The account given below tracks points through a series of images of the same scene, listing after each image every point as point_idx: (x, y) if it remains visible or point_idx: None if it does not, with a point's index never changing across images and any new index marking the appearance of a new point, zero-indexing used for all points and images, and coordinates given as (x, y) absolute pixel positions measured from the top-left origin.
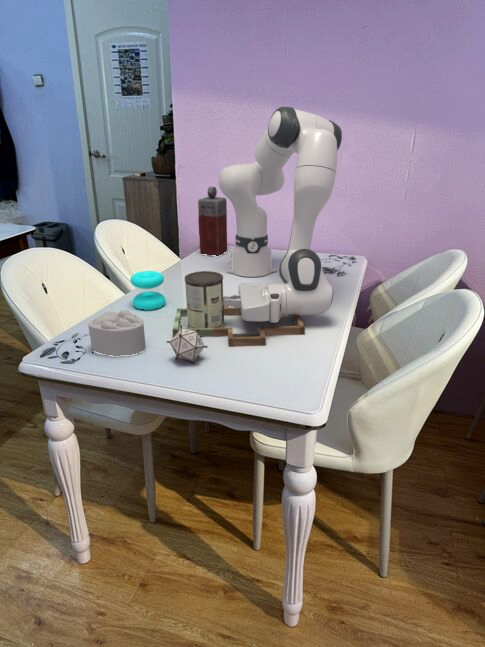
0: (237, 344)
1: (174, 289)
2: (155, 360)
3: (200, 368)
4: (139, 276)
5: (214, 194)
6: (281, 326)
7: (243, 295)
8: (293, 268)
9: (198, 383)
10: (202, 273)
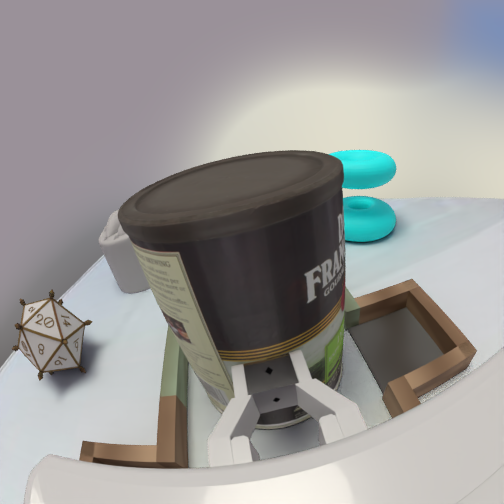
0: None
1: (461, 226)
2: (90, 316)
3: (36, 385)
4: (348, 156)
5: None
6: None
7: (263, 481)
8: None
9: (7, 381)
10: (296, 160)
